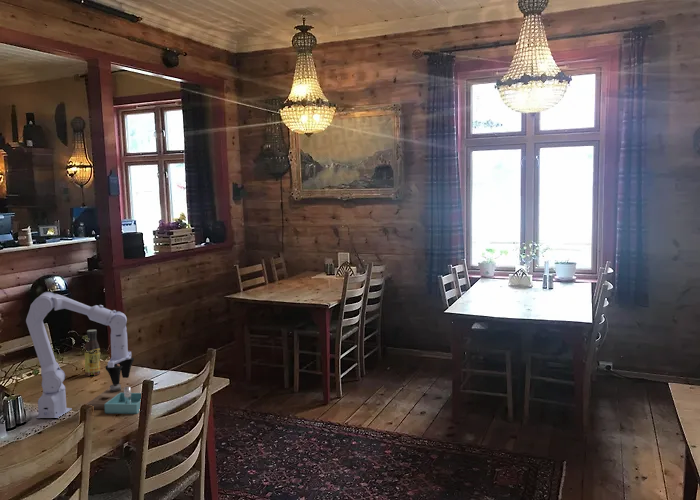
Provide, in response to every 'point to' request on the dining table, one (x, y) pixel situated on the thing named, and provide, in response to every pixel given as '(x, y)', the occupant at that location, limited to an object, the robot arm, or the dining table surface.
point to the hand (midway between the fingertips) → (120, 380)
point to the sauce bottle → (92, 354)
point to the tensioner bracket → (106, 396)
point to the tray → (123, 404)
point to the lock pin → (127, 395)
